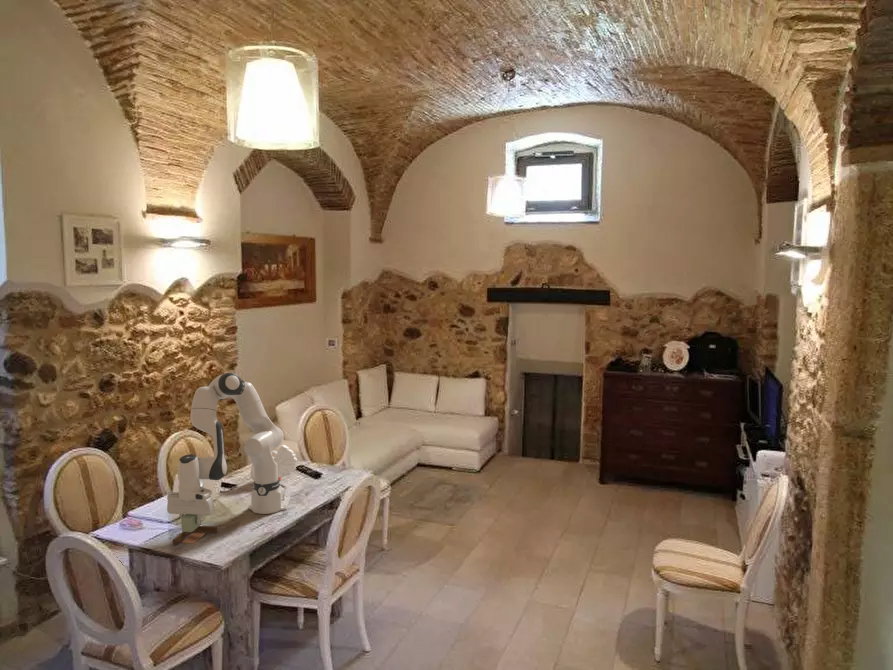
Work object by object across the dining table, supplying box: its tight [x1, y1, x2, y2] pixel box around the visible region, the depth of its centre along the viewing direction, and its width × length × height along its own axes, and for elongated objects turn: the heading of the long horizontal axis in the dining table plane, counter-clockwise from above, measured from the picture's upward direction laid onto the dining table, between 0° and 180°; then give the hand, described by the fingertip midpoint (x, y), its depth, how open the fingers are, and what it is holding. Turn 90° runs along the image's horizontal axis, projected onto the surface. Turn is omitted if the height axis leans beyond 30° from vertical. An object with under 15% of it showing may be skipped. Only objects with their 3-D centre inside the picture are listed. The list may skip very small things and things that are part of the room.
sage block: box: [180, 514, 202, 533], centre depth 282 cm, size 4×8×6 cm, turn 173°
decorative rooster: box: [250, 444, 298, 481], centre depth 349 cm, size 25×16×25 cm, turn 73°
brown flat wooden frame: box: [172, 525, 219, 546], centre depth 282 cm, size 15×13×2 cm
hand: (191, 523), depth 282 cm, fingers closed on sage block, 4 cm apart
